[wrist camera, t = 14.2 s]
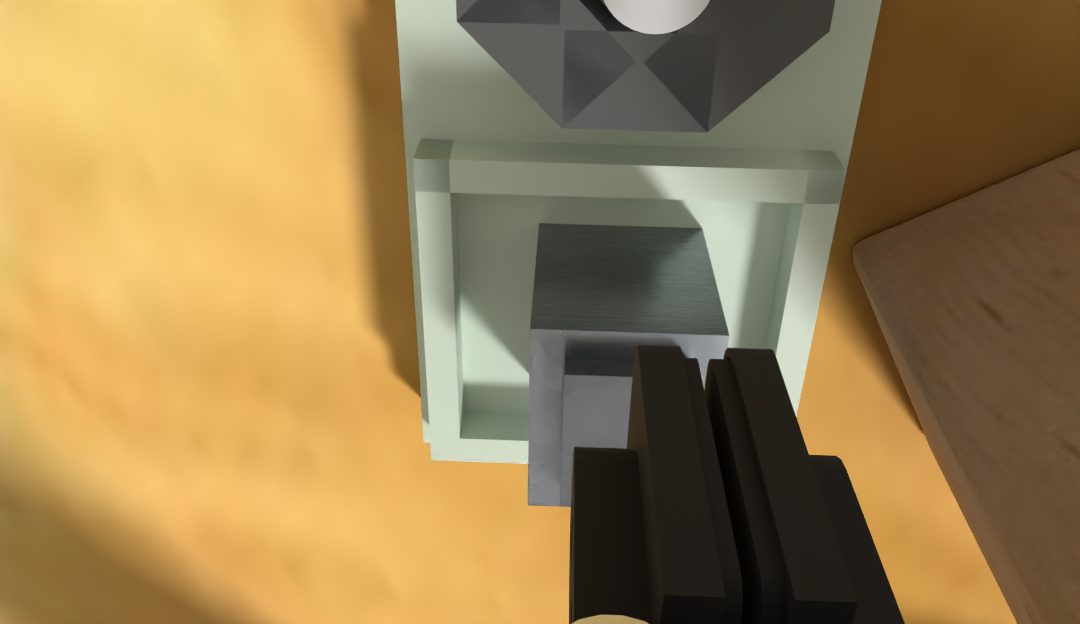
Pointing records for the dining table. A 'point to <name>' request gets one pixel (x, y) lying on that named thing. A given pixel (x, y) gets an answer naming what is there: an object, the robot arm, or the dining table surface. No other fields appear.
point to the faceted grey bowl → (643, 58)
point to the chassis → (607, 205)
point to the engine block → (608, 334)
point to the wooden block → (997, 368)
